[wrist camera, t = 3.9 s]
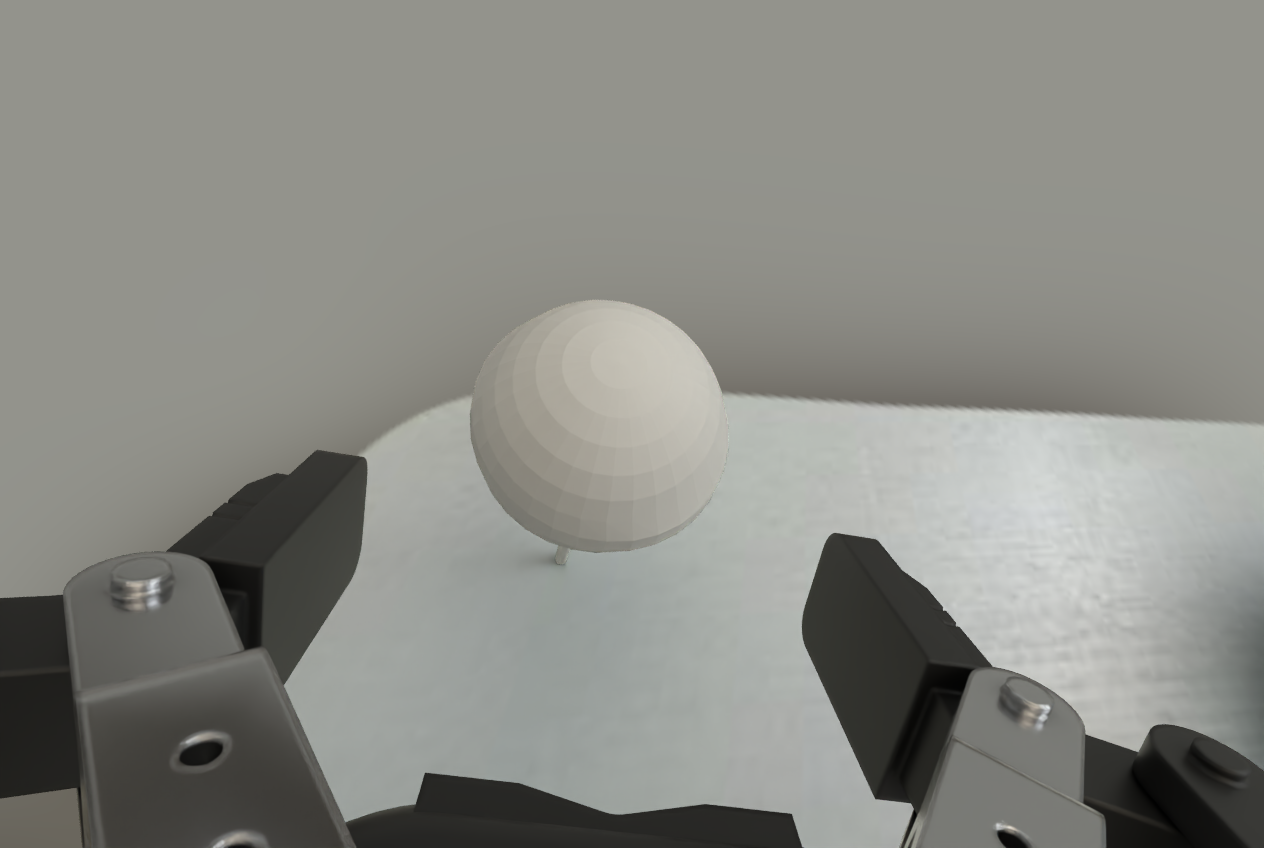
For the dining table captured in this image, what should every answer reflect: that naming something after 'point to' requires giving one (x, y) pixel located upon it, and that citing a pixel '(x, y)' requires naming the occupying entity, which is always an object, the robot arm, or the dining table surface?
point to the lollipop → (599, 427)
